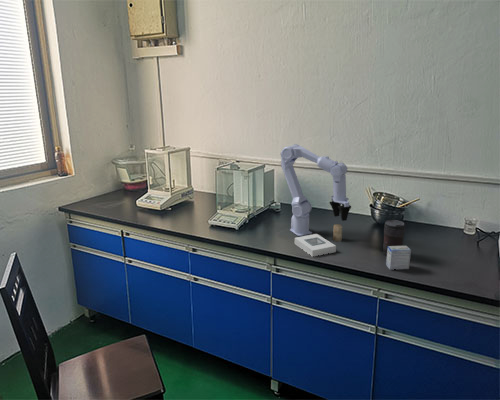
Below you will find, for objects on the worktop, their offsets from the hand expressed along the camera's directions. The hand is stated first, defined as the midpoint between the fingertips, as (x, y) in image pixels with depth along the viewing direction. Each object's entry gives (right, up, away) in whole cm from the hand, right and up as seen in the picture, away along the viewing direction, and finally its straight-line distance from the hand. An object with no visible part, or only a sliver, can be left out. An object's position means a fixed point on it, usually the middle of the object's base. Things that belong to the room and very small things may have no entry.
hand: (340, 218), depth 187 cm
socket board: (-13, -13, -4) cm, 19 cm away
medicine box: (+18, -19, -24) cm, 35 cm away
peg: (0, -10, +5) cm, 12 cm away
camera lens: (+19, -16, -13) cm, 28 cm away
